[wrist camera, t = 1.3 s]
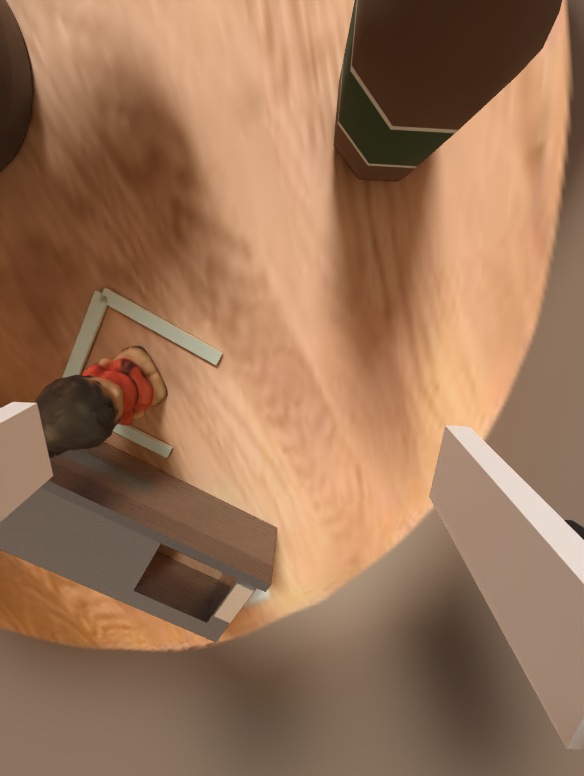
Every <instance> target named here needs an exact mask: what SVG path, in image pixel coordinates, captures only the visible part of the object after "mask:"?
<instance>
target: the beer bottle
mask: <svg viewBox="0 0 584 776" xmlns="http://www.w3.org/2000/svg"><path fill="white" fill-rule="evenodd" d="M561 3H562V0H355V2H354V7H353V13H352V18H351V23H350V28H349V33H348V39H347V44H346V49H345V54H344V59H343V65H342V70H341V75H340V80H339V89H338V101H337V113H336V125H335V137H334V146H335V147H336V149H337V150H338V151H339V153H340V154H341V155H342V157H343V158H344V159H345V161H346V162H347V164H348V165H349V166H350V168H351V169H352V170H353V172H354V173H355V175H356V176H357V177H358V179H367V180H384V181H399V180H401V179H403V178H404V177H406V176H407V175H408V174H409V173H410V172H411V171H412V170H414V169H415V168H416V167H417V166H418V165H419V164H420V163H421V162H423V161H424V160H425V159H426V158H427V157H428V156H429V155H431V154H432V153H433V152H434V151H435V150H436V149H437V148H439V147H440V146H441V145H442V144H443V143H444V142H445V141H447V140H448V139H449V138H450V137H451V136H452V135H453V134H454V133H456V132H457V131H458V130H459V129H460V128H461V127H462V126H463V125H464V124H465V123H467V122H468V121H469V120H470V119H471V118H472V117H473V116H474V115H475V114H476V113H477V112H478V111H479V110H481V109H482V108H483V107H484V106H485V105H486V104H487V103H488V102H489V101H490V100H491V99H492V98H493V97H495V96H496V95H497V94H498V93H499V92H500V91H501V90H502V89H503V88H504V87H505V86H506V85H507V84H509V83H510V82H511V81H512V80H513V79H514V78H515V77H516V76H517V75H518V74H519V73H520V72H521V71H522V70H523V69H524V68H525V67H526V66H527V64H528V63H529V62H530V61H531V60H532V59H533V58H534V57H535V56H536V55H537V54H538V53H539V52H540V50H541V49H542V48H543V46H544V44H545V42H546V40H547V38H548V35H549V33H550V31H551V29H552V27H553V25H554V22H555V20H556V18H557V16H558V14H559V11H560V7H561Z"/></svg>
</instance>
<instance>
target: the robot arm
mask: <svg viewBox="0 0 584 776" xmlns="http://www.w3.org/2000/svg"><path fill="white" fill-rule="evenodd" d="M31 106H32V80H31V71H30V65H29V60H28V55H27V51H26V48H25V44H24V41H23V38H22V35H21V32H20V29H19V27H18V24H17V22H16V19H15V17H14V15H13V13H12V11H11V9H10V7H9V5H8V3H7V1H6V0H0V171H1V170H2V169H3V168H4V167H5V166H6V165H7V164H8V163H9V162H10V161H11V160H12V159H13V157H14V156H15V155H16V153H17V151H18V150H19V148H20V146H21V144H22V142H23V140H24V137H25V135H26V131H27V128H28V124H29V120H30V114H31ZM52 476H53V472H52V468H51V463H50V459H49V455H48V450H47V446H46V441H45V437H44V432H43V428H42V423H41V419H40V414H39V410H38V405H37V403H27V402H12V403H10V404H8V405H6V406H4V407H2V408H0V522H1V521H2V520H3V519H5V518H6V517H7V516H8V515H9V514H10V513H11V512H13V511H14V510H15V509H16V508H17V507H18V506H19V505H21V504H22V503H23V502H24V501H25V500H26V499H27V498H29V497H30V496H31V495H32V494H33V493H34V492H35V491H36V490H38V489H39V488H40V487H41V486H42V485H43V484H44V483H46V482H47V481H48V480H49V479H50V478H51V477H52ZM429 497H430V499H431V501H432V503H433V504H434V506H435V508H436V510H437V512H438V514H439V515H440V517H441V519H442V521H443V523H444V525H445V526H446V528H447V530H448V532H449V534H450V536H451V538H452V539H453V541H454V543H455V545H456V546H457V549H458V550H459V552H460V554H461V556H462V558H463V559H464V561H465V563H466V565H467V567H468V569H469V571H470V572H471V574H472V576H473V578H474V580H475V582H476V584H477V585H478V587H479V589H480V591H481V593H482V595H483V596H484V598H485V600H486V602H487V604H488V606H489V607H490V609H491V611H492V613H493V615H494V617H495V619H496V620H497V622H498V624H499V626H500V628H501V630H502V631H503V633H504V635H505V637H506V639H507V640H508V642H509V644H510V646H511V648H512V650H513V652H514V653H515V655H516V657H517V659H518V661H519V663H520V665H521V666H522V668H523V670H524V672H525V674H526V676H527V677H528V679H529V681H530V683H531V685H532V687H533V688H534V690H535V692H536V694H537V696H538V698H539V699H540V701H541V703H542V705H543V706H544V708H545V710H546V712H547V714H548V716H549V718H550V720H551V721H552V723H553V725H554V727H555V729H556V731H557V732H558V734H559V736H560V738H561V740H562V742H563V744H564V745H565V747H566V749H578V750H584V528H583V527H582V526H580V525H579V524H577V523H576V522H574V521H572V520H563V519H562V518H561V517H560V516H559V515H558V514H557V513H556V512H555V511H554V510H553V509H552V508H551V507H550V506H549V505H548V504H547V503H546V502H545V501H544V500H543V499H542V498H541V497H540V496H539V495H538V494H537V493H536V492H535V491H534V490H533V489H532V488H530V486H529V485H528V484H527V483H526V482H525V481H524V480H523V479H521V477H520V476H518V474H517V473H515V471H513V469H512V468H511V467H510V466H508V465H507V464H506V463H505V462H504V461H503V460H502V459H501V458H500V457H499V456H498V455H497V454H496V453H495V452H494V451H493V450H492V449H491V448H490V447H489V446H488V445H487V444H486V443H485V442H484V441H483V440H482V439H481V438H480V437H479V436H478V435H477V434H476V433H475V432H474V431H473V430H472V429H471V428H470V427H466V426H447V425H445V429H444V434H443V438H442V443H441V447H440V451H439V456H438V460H437V465H436V469H435V473H434V478H433V482H432V487H431V491H430V496H429Z"/></svg>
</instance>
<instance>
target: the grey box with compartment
mask: <svg viewBox="0 0 584 776" xmlns="http://www.w3.org/2000/svg"><path fill="white" fill-rule="evenodd" d="M49 459H50V463H51V468H52V472H53V476H52V477H51V478H50V479H49V480H48V481H47V482H46V483H44V484H43V485H42V486H41V487H40V488H39V489H38V490H36V491H35V492H34V493H33V494H32V495H31V496H30V497H29V498H27V499H26V500H25V501H24V502H23V503H22V504H21V505H19V506H18V507H17V508H16V509H15V510H14V511H13V512H11V513H10V514H9V515H8V516H7V517H6V518H5V519H3V520H2V521H1V522H0V550H2V551H4V552H7V553H9V554H11V555H14V556H16V557H18V558H21V559H23V560H25V561H28V562H30V563H32V564H35V565H37V566H39V567H42V568H44V569H46V570H49V571H51V572H53V573H56V574H58V575H60V576H63V577H65V578H67V579H70V580H72V581H74V582H77V583H79V584H81V585H84V586H86V587H88V588H91V589H93V590H95V591H98V592H100V593H102V594H105V595H107V596H109V597H112V598H114V599H116V600H119V601H121V602H123V603H126V604H128V605H130V606H133V607H135V608H137V609H140V610H142V611H144V612H147V613H149V614H151V615H154V616H156V617H158V618H161V619H163V620H165V621H168V622H170V623H172V624H175V625H177V626H179V627H182V628H184V629H186V630H189V631H191V632H193V633H195V634H198V635H200V636H202V637H205V638H207V639H209V640H212V641H214V642H217V640H218V639H219V638H220V636H221V635H222V634H223V632H224V631H225V630H226V628H227V627H228V626H229V624H230V623H231V622H232V620H233V619H234V618H235V616H236V615H237V614H238V612H239V611H240V610H241V608H242V607H243V606H244V604H245V603H246V602H247V600H248V599H249V598H250V596H251V595H252V593H253V592H254V591H255V589H256V588H258V589H260V590H262V591H265V592H266V591H267V589H268V588H269V587H270V585H271V580H272V571H273V561H274V551H275V541H276V532H277V528H276V527H274V526H272V525H270V524H268V523H266V522H264V521H262V520H260V519H258V518H256V517H254V516H252V515H250V514H248V513H246V512H244V511H242V510H240V509H238V508H236V507H234V506H232V505H230V504H228V503H226V502H224V501H222V500H220V499H218V498H216V497H214V496H212V495H210V494H207V493H205V492H203V491H201V490H199V489H197V488H195V487H193V486H191V485H189V484H187V483H185V482H183V481H181V480H179V479H177V478H175V477H173V476H171V475H169V474H167V473H165V472H163V471H161V470H159V469H157V468H155V467H153V466H151V465H149V464H147V463H145V462H143V461H141V460H139V459H137V458H135V457H133V456H131V455H129V454H127V453H125V452H123V451H121V450H119V449H117V448H115V447H113V446H110V445H108V444H106V443H104V442H103V443H102V444H101V445H100V446H99V447H95V448H91V449H78V450H68V451H66V452H64V453H62V454H61V455H59V456H56V455H55V456H54V457H53V458H49ZM160 544H163V545H165V546H167V547H169V548H172V549H174V550H176V551H178V552H180V553H182V554H184V555H187V556H189V557H191V558H193V559H195V560H197V561H200V562H202V563H204V564H206V565H208V566H210V567H213V568H215V569H217V570H219V571H221V572H223V575H222V576H221V578H220V579H219V581H218V580H216V579H214V578H212V577H210V576H207V575H205V574H203V573H201V572H199V571H197V570H194V569H192V568H190V567H188V566H186V565H183V564H181V563H179V562H177V561H175V560H172V559H170V558H168V557H166V556H164V555H162V554H159V553H157V552H156V551H157V549H158V548H159V546H160Z"/></svg>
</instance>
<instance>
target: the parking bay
mask: <svg viewBox="0 0 584 776" xmlns="http://www.w3.org/2000/svg"><path fill="white" fill-rule="evenodd" d="M107 306H110V307H112V308H113V309H115V310H117V311H119V312H121V313H122V314H124V315H126V316H128V317H130V318H131V319H133V320H135V321H137V322H139V323H140V324H142V325H144V326H146V327H148V328H149V329H151V330H153V331H155V332H157V333H158V334H160V335H162V336H164V337H166V338H167V339H169V340H171V341H173V342H175V343H176V344H178V345H180V346H182V347H184V348H185V349H187V350H189V351H191V352H193V353H194V354H196V355H198V356H200V357H202V358H203V359H205V360H207V361H209V362H211V363H212V364H214V365H217V363H218V362H219V360H220V358H221V356H222V354H223V353H222V352H220V351H219V350H217V349H215V348H213V347H211V346H210V345H208V344H206V343H204V342H203V341H201V340H199V339H197V338H195V337H194V336H192V335H190V334H188V333H187V332H185V331H183V330H181V329H179V328H178V327H176V326H174V325H172V324H171V323H169V322H167V321H165V320H163V319H162V318H160V317H158V316H156V315H155V314H153V313H151V312H149V311H147V310H146V309H144V308H142V307H140V306H139V305H137V304H135V303H133V302H131V301H130V300H128V299H126V298H124V297H123V296H121V295H119V294H117V293H115V292H114V291H112V290H110V289H108V288H104V290H103V292H100V291H98V290H95V292H94V294H93V297H92V300H91V302H90V305H89V308H88V310H87V313H86V316H85V318H84V321H83V324H82V326H81V329H80V332H79V334H78V337H77V340H76V342H75V345H74V348H73V350H72V353H71V356H70V358H69V361H68V364H67V366H66V369H65V372H64V374H63V377H69V376H73V375H81V372H82V370H83V367H84V365H85V362H86V360H87V357H88V355H89V352H90V350H91V347H92V344H93V342H94V339H95V337H96V334H97V332H98V329H99V327H100V324H101V322H102V319H103V317H104V314H105V311H106V309H107ZM113 432H115V433H117V434H119V435H121V436H123V437H125V438H127V439H129V440H131V441H133V442H135V443H137V444H139V445H141V446H143V447H145V448H147V449H149V450H151V451H153V452H155V453H157V454H159V455H161V456H163V457H165V458H167V457H168V456H169V454H170V452H171V450H172V448H173V447H172V446H170V445H168V444H166V443H164V442H162V441H160V440H158V439H156V438H154V437H152V436H150V435H148V434H146V433H144V432H142V431H141V430H139V429H137V428H135V427H133V426H131V425H129V426H126V425H120V424H117V425H116V426H115V428H114V430H113Z"/></svg>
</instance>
